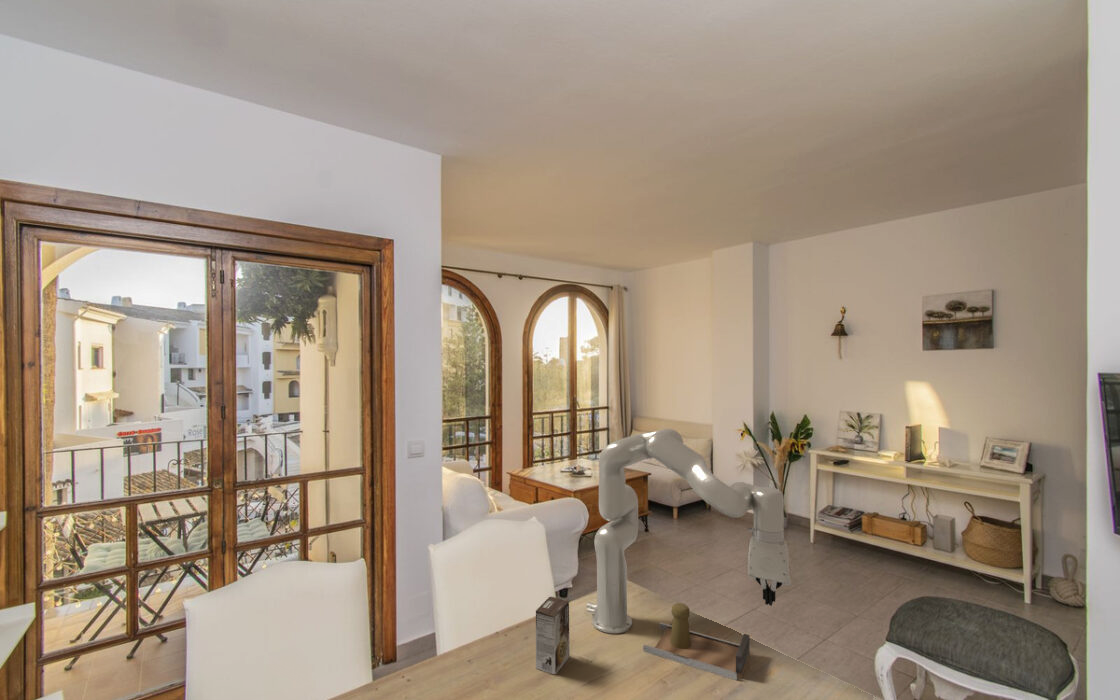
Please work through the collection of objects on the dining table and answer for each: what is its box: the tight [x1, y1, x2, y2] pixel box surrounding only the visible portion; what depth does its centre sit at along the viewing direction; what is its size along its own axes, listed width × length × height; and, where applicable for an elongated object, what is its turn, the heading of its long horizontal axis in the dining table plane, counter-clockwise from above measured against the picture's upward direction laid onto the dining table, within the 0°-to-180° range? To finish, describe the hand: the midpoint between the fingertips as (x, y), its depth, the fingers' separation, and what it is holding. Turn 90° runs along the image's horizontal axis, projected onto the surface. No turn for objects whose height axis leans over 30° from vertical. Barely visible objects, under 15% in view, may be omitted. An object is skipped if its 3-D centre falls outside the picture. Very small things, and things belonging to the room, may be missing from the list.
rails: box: [642, 622, 740, 681], centre depth 146 cm, size 26×15×2 cm, turn 60°
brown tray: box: [654, 628, 751, 679], centre depth 145 cm, size 24×12×6 cm, turn 60°
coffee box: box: [535, 596, 570, 675], centre depth 141 cm, size 9×6×16 cm
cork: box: [670, 602, 691, 649], centre depth 148 cm, size 6×6×11 cm
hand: (769, 602), depth 136 cm, fingers closed
